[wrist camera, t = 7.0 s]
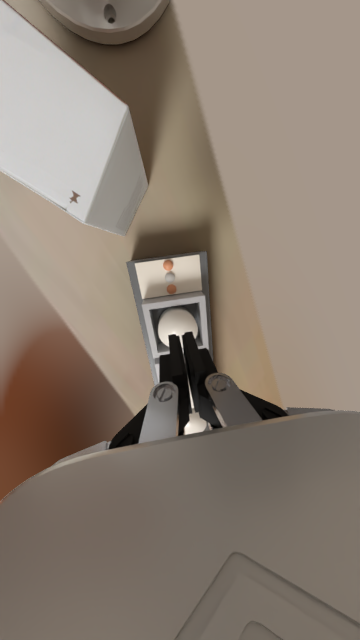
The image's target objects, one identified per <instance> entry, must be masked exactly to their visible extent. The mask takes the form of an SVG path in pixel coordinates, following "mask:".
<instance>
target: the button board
mask: <svg viewBox="0 0 360 640" xmlns="http://www.w3.org/2000/svg"><path fill="white" fill-rule="evenodd" d="M126 263H127V268H128V272H129V276H130V281H131V285H132V289H133V294H134V298H135V302H136V306H137V311H138V315H139V319H140V324H141V328H142V332H143V337H144V341H145V345H146V350H147V354H148V358H149V363H150V367H151V371H152V375H153V380H154V384H155V386H156V385H157V384H159V356H160V355H165V354H170V350H169V347H168V346H166V345H165V344H164V343H163V342H162V341H161V340H160V338H159V335H158V323H159V318H160V316H161V314H162V313H163V312H164V311H165V310H166V309H168V308H170V307H174V306H180V307H184V308H186V309H188V310H189V311H190V312H191V313H192V315H193V317H194V319H195V321H196V323H197V327H198V333H197V336H196V338H195V341H196V343H197V346H198V349H202V348H207V349H208V351H209V354H210V356H211V358H212V360H213V350H212V333H211V316H210V299H209V282H208V265H207V251H197V252H190V253H182V254H175V255H167V256H160V257H153V258H145V259H138V260H131V261H128V262H126ZM182 351H183V356H184V350H183V348H182ZM184 361H185V357H184ZM185 366H186V365H185ZM206 423H207V425H206V428H205V429H204V431H208V430H210V429H209V426H208V422H207V421H206Z"/></svg>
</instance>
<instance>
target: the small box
mask: <svg viewBox="0 0 360 640" xmlns="http://www.w3.org/2000/svg"><path fill="white" fill-rule="evenodd" d="M0 171H1V172H3V173H4V174H6V175H8V176H9V177H11V178H12V179H14V180H16V181H17V182H19V183H21V184H22V185H24V186H25V187H27V188H29V189H30V190H32V191H34V192H35V193H37V194H38V195H40V196H42V197H43V198H45V199H47V200H48V201H50V202H51V203H53V204H54V205H56V206H57V207H59V208H60V209H62V210H63V211H65V212H67V213H68V214H70V215H71V216H73V217H74V218H76V219H77V220H79V221H80V222H81V223H83V224H86V225H90V226H93V227H96V228H99V229H102V230H105V231H108V232H111V233H114V234H117V235H121V236H125V235H126V232H127V230H128V228H129V226H130V224H131V222H132V220H133V217H134V215H135V213H136V211H137V209H138V207H139V205H140V203H141V200H142V198H143V196H144V194H145V192H146V190H147V188H148V182H147V178H146V174H145V170H144V166H143V162H142V158H141V154H140V150H139V146H138V141H137V138H136V134H135V130H134V126H133V122H132V118H131V114H130V110H129V106H128V105H127V104H126V103H125V102H123V101H122V100H121V99H120V98H119V97H118V96H116V95H115V94H114V93H113V92H112V91H111V90H109V89H108V88H107V87H106V86H105V85H104V84H102V83H101V82H100V81H99V80H98V79H96V78H95V77H94V76H93V75H92V74H90V73H89V72H88V71H87V70H86V69H85V68H83V67H82V66H81V65H80V64H79V63H78V62H76V61H75V60H74V59H73V58H72V57H70V56H69V55H68V54H67V53H66V52H65V51H63V50H62V49H61V48H60V47H58V46H57V45H56V44H55V43H54V42H52V41H51V40H50V39H49V38H48V37H47V36H45V35H44V34H43V33H42V32H41V31H40V30H38V29H37V28H36V27H35V26H34V25H32V24H31V23H30V22H29V21H28V20H27V19H26V18H24V17H23V16H22V15H21V14H19V13H18V12H17V11H16V10H15V9H14V8H12V7H11V6H10V5H9V4H8V3H7V2H5V1H4V0H0Z"/></svg>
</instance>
